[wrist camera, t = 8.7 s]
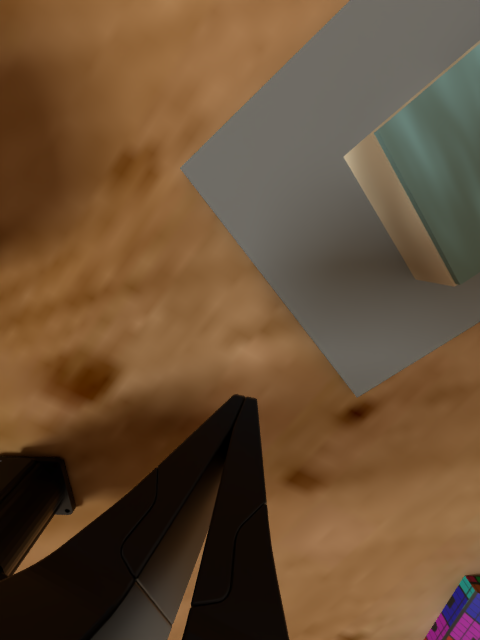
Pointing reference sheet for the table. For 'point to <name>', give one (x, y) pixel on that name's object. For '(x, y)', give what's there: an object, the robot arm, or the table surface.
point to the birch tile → (430, 175)
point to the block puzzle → (460, 614)
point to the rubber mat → (340, 186)
